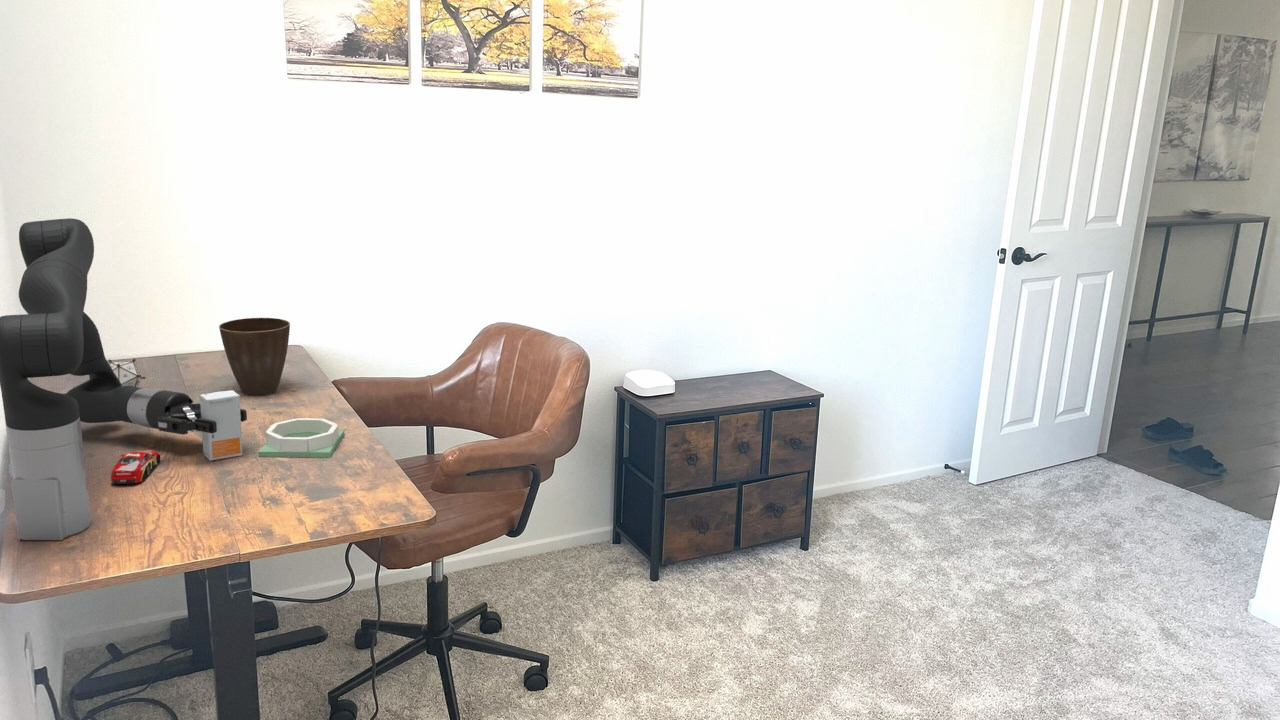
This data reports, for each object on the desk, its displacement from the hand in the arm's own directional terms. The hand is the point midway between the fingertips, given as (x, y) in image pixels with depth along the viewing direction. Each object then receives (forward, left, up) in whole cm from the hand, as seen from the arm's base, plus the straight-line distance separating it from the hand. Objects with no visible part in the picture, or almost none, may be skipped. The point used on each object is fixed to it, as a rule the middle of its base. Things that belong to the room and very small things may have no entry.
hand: (230, 421), depth 169 cm
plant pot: (+43, +8, -7) cm, 44 cm away
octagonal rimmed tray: (+7, -11, -7) cm, 15 cm away
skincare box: (+1, +2, -7) cm, 8 cm away
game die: (+39, +36, -7) cm, 53 cm away
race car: (-8, +14, -8) cm, 18 cm away
